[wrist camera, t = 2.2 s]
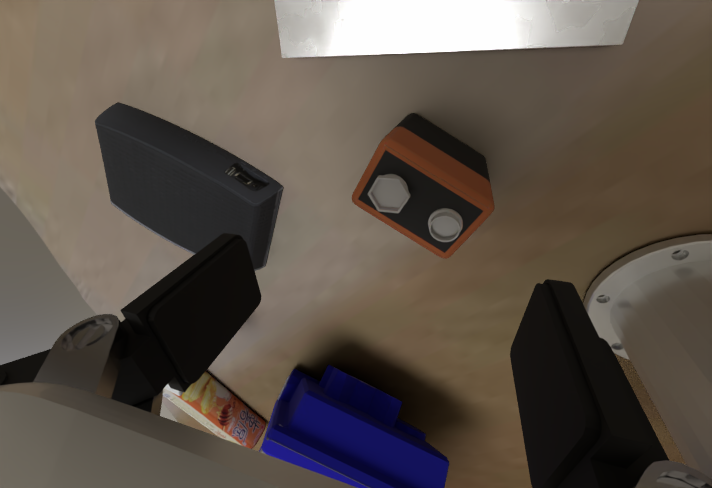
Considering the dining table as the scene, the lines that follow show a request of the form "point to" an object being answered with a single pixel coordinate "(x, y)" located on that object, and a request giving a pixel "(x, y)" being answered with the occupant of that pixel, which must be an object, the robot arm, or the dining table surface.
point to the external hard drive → (184, 184)
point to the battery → (426, 186)
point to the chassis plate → (446, 25)
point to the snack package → (219, 411)
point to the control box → (350, 434)
